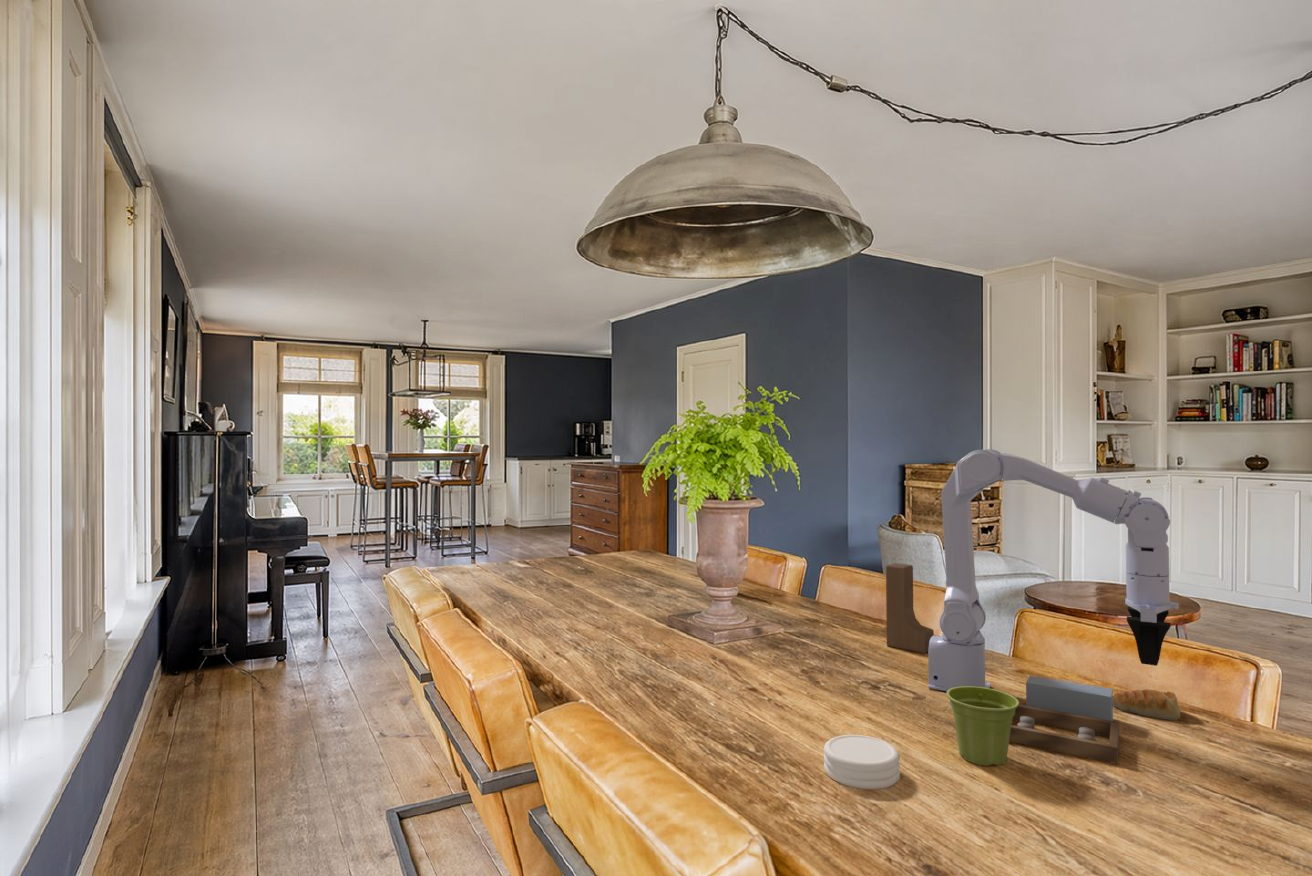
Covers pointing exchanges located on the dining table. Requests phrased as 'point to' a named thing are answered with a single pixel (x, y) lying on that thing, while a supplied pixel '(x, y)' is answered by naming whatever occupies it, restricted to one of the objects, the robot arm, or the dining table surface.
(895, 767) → the coaster
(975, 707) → the plant pot
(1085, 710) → the blue-grey rectangular block
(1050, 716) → the peg frame
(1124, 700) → the pastry
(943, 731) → the dining table surface
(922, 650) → the wooden block
